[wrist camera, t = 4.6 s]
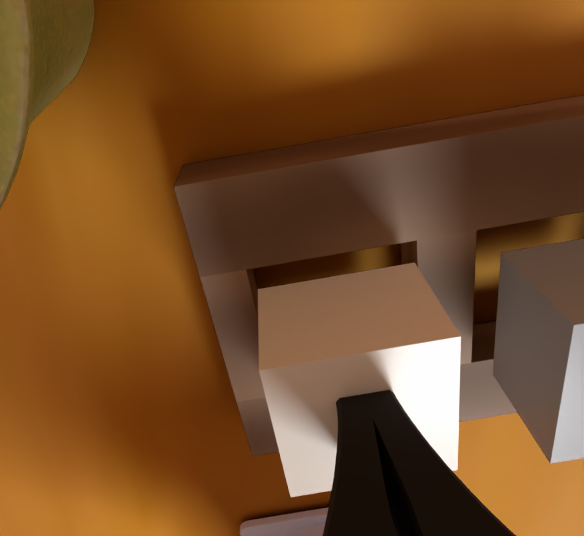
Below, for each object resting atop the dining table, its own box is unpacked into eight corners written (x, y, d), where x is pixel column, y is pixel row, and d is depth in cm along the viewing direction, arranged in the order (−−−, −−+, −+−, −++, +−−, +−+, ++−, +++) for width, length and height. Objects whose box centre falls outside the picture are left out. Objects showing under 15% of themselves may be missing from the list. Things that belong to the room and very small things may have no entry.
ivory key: (418, 380, 16) (457, 469, 13) (283, 403, 16) (290, 497, 13) (414, 262, 14) (461, 336, 11) (257, 289, 14) (258, 370, 11)
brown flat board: (774, 329, 20) (825, 361, 18) (252, 417, 20) (252, 456, 18) (899, 39, 14) (989, 44, 13) (183, 165, 15) (173, 186, 13)
